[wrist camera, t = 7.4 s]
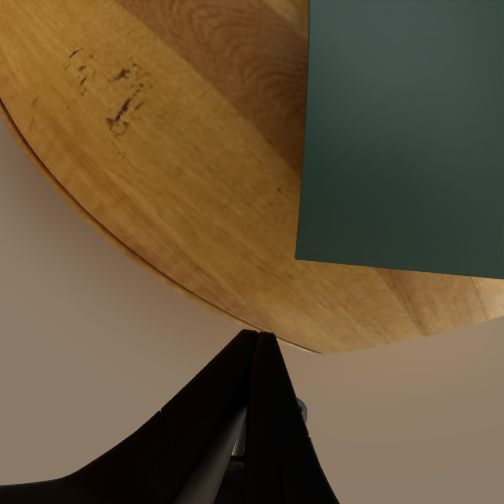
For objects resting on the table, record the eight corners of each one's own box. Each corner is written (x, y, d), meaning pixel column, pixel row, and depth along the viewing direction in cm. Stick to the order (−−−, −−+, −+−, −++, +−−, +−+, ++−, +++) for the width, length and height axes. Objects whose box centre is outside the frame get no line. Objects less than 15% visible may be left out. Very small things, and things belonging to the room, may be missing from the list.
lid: (307, -77, 6) (307, -86, 6) (547, 0, 5) (557, -1, 4) (295, 249, 13) (294, 259, 13) (506, 271, 12) (512, 280, 11)
